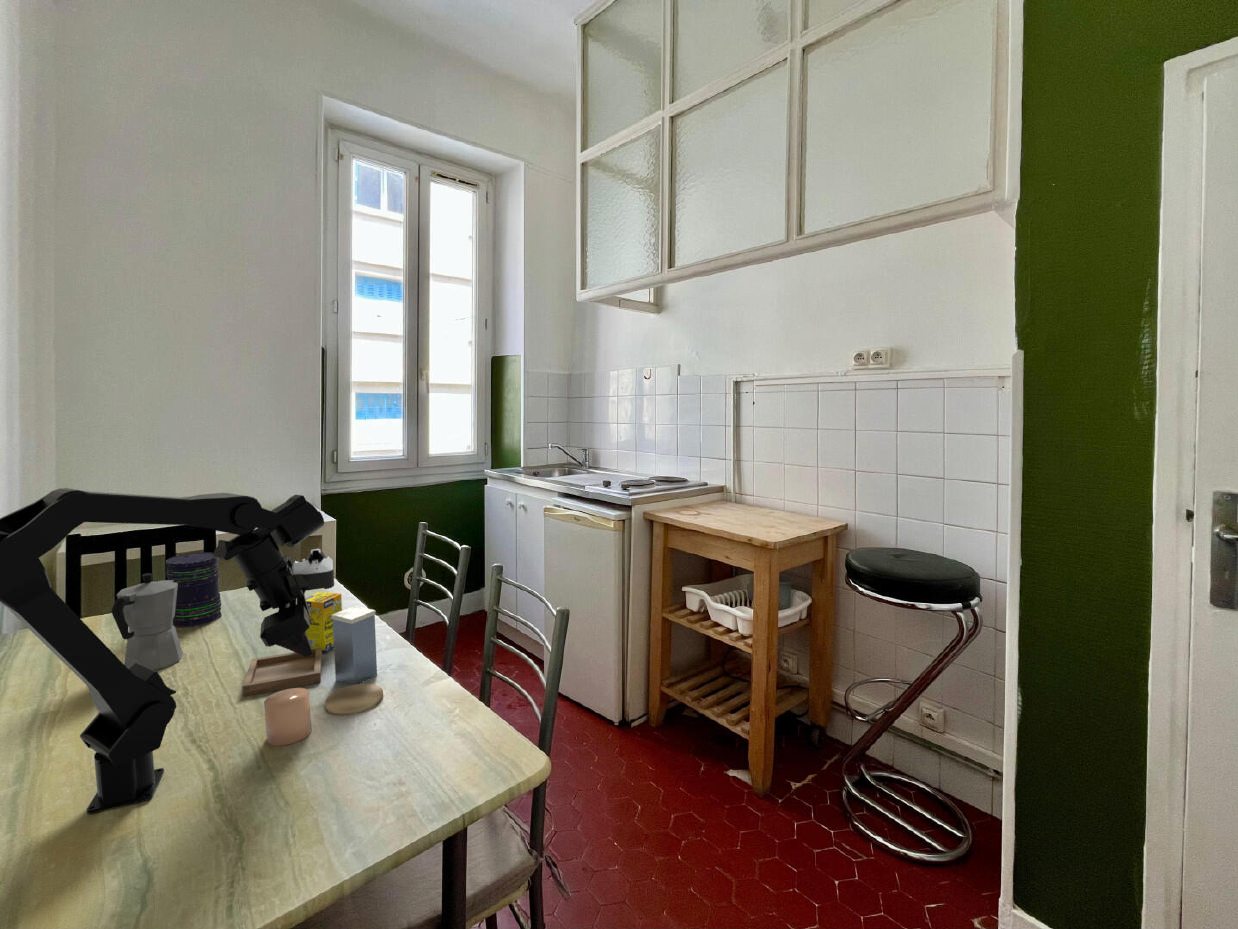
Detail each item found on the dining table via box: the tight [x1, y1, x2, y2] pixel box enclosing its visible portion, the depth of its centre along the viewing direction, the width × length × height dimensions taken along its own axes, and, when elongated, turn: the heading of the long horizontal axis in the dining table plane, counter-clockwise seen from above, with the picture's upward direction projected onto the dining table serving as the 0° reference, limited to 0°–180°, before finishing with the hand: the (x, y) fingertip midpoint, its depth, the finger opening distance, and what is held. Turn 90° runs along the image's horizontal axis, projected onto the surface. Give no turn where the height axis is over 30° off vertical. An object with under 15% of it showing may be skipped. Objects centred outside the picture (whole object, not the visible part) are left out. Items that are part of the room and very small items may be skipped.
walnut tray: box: [242, 648, 323, 697], centre depth 108 cm, size 12×12×2 cm
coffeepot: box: [111, 572, 184, 671], centre depth 111 cm, size 15×9×18 cm, turn 6°
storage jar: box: [165, 552, 223, 628], centre depth 135 cm, size 10×10×15 cm
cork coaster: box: [325, 683, 384, 716], centre depth 99 cm, size 9×9×1 cm
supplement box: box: [305, 591, 343, 655], centre depth 120 cm, size 6×6×11 cm
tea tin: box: [332, 605, 378, 686], centre depth 107 cm, size 5×5×13 cm
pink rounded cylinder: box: [263, 687, 312, 747], centre depth 89 cm, size 6×6×6 cm
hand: (308, 638), depth 97 cm, fingers open, 9 cm apart
